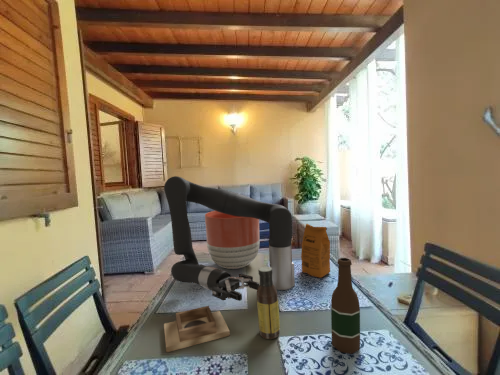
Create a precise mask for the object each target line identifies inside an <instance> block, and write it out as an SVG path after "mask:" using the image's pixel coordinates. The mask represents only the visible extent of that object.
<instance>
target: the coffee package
mask: <svg viewBox="0 0 500 375" xmlns="http://www.w3.org/2000/svg"><path fill="white" fill-rule="evenodd" d="M327 230H328V228H327V227H326V226H314V225H311V224H308V223H306V224H305V228H304V231H303V236H302V241H301V256H300V257H301V258H300V259H301V273H304V274H308V275H309V276H310V277H314V278H318V279H319V278H323V277H325V276H326V275H328V274H330V272H331V263H330V262H331V261H330V260H331V241H330V239H329V236H328V233H327Z"/></svg>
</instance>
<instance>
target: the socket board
mask: <svg viewBox="0 0 500 375" xmlns="http://www.w3.org/2000/svg"><path fill="white" fill-rule="evenodd" d="M163 329H164V330H163V331H164V332H163V333H164V339H165V340H164V341H165V351H166V353H167V354H168V353H170V352H174V351H177V350H178V351H179V350H180V349H185V348H188V347H192V346H195V345H200V344H204V343H207V342H211V341H215V340H218V339H222V338H225V337H229V336H230V335H231V331H230V329H229V327H228V325H227V322H226V321H225V319H224V316H223V315H222V313H221V310H217V311H213V312H212V311H211V308H210V306H209V305H206V306H202V307H197V308H192V309H188V310H185V311H184V310H183V311H180V312H176V313H175V320H174V321H171V322H165V323H163Z"/></svg>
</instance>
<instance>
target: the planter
mask: <svg viewBox="0 0 500 375" xmlns="http://www.w3.org/2000/svg"><path fill="white" fill-rule="evenodd" d="M204 221H205V236H206V247H207V252H208V255H209V257H210V259H211V261H212V262H214V263H215V265H218V266H219V267H221V268H222V269H227V270H228V269H229V270H236V269H242V268H245V267H247V266H248V265H249V264H251V263H252V262H253V261H254V260H255V259H256V258H257V255H258V253H259V250H260V219H256V218H252V217H239V216H232V215H228V214H224V213H223V212H222V213H221V212H218V211H215V210H212V211H209V212H207V213H205V214H204Z"/></svg>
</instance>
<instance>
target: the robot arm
mask: <svg viewBox="0 0 500 375" xmlns="http://www.w3.org/2000/svg"><path fill="white" fill-rule="evenodd" d="M163 191H164V194H165V198H166V201H167V204H168V210H169V215H170V222H171V232H172V241H173V242H172V244H173V251H174V254H175V255H176V256H177V255H178V256H183V257H184V260H180V261H177V262H175V263H174V264H173V265H172V266H171V270H170V274H171V276H172V278H173V279H174V280H175V281H177V282H180V283H185V284H186V283H187V284H196V285H198V286H201V287H203V288H204V289H206V290H208V291H211V296H213V297H215V298H216V299H219V300H221V301H226V300H227V299H232V300H235V301H238V302H240V301H242V300H243V294H242V293H241V292H239V291H237V290H239V289H240V290H241V289H244V288H249V289H253V290H255V291H257V289H258V287H259V285H260V282H257V281H254V276H253V275H247V274H243V273H238V276H232V275H231V273H230V272H229V271H227V270H223V269H221V268H217V267H213V266H207V265H204V264H199V261H198V258H197V255H196V253H195V250H194V248H193V240H192V239H193V238H192V231H191V227H190V226H191V225H190V221H189V218H188V217H189V215H188V210H187V202H189V203H195V204H198V205H201V206H204V207H206V208H208V209H210V210H212V211H218V212H221V213H222V212H223V213H224V214H228V215H232V216H239V217H252V218H256V219H259V221H263V222H265V223H267V224H268V227H269V228H268V229H269V231H268V232H269V238H268V254H269V256H268V257H269V259H268V260H269V267H271V268H272V272H273V273H272V281H273V285H274V286H275V288H276V290H277V291H284V290H289V289H292V287H295V286H296V284H295V283H296V282H295V279H296V278H295V263H294V262H293V257H292V256H293V253H292V252H293V251H292V250H293V249H292V248H293V247H292V245H293V244H292V242H293V217H292V216H293V215H292V213H291V210H289V209H288V208H287V207H286V206H283V205H281V204H276V203H271V202H265V201H259V200H256V199H254V198H251V197H249V196H247V195H243V194H241V193H237V192H234V191H230V190H228V189H227V190H226V189H222V188H216V187H207V186H203V185H199V184H197V183H194V182H191V181H189V180H187V179H185V178H183V177H181V176H179V175H177V176H176V175H175V176H171V177H169V178H168V179H167V180H166V181H165V183H164V186H163ZM240 283H241V284H240Z"/></svg>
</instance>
